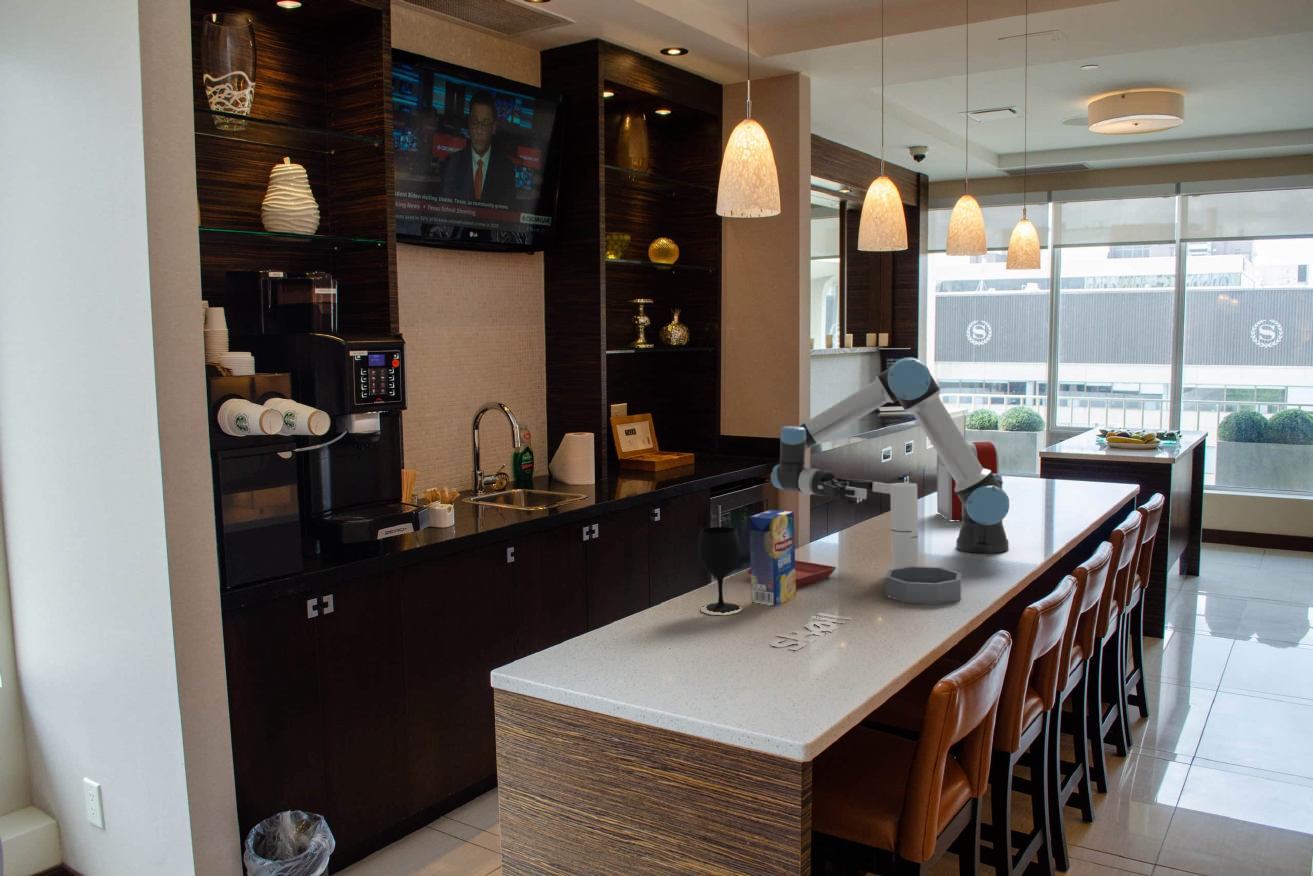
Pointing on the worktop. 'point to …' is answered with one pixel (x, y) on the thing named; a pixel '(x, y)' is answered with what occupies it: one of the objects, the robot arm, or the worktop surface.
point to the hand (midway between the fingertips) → (879, 491)
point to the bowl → (924, 585)
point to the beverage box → (772, 557)
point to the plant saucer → (809, 572)
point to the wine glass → (719, 559)
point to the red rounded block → (946, 484)
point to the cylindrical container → (904, 525)
